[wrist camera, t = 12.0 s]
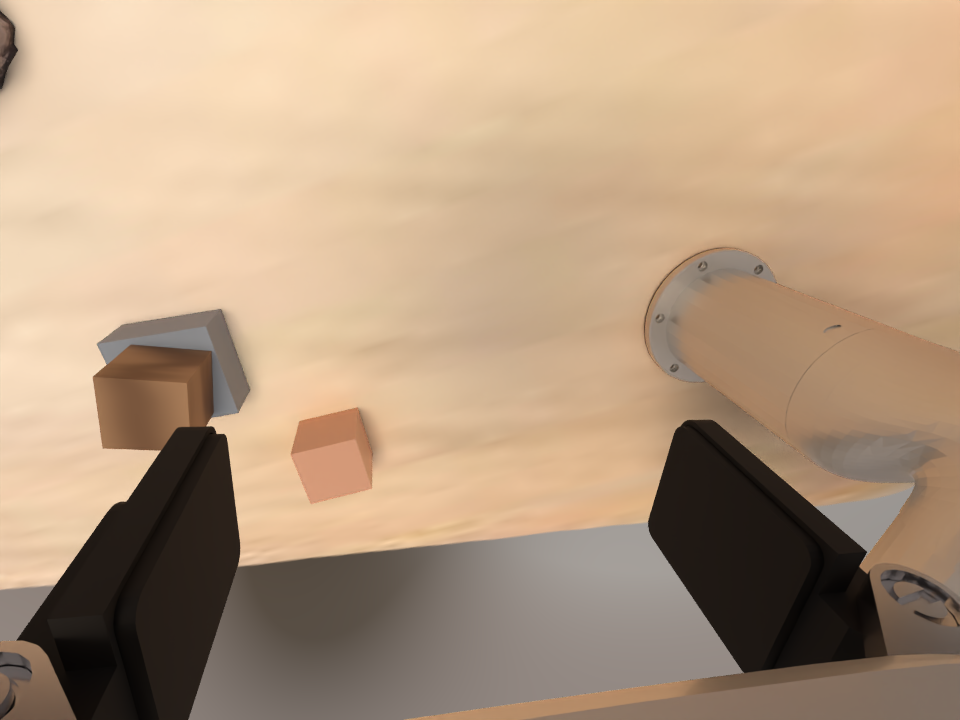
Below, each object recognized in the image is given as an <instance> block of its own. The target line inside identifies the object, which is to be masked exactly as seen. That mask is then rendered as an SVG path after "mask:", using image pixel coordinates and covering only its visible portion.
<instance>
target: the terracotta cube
mask: <svg viewBox="0 0 960 720" xmlns="http://www.w3.org/2000/svg"><path fill="white" fill-rule="evenodd" d="M291 457H292V459H293V462H294V464H295V467H296V469H297V471H298V474H299V476H300V479H301V481H302V484H303V486H304V489H305V491H306V493H307V496H308V498H309V501H310V503H311V504H313V503H317V502H321V501H325V500H329V499H333V498H337V497H341V496H345V495H349V494H353V493H356V492H360V491H364V490H368V489H372V451H371V448H370V445H369V442H368V438H367V435H366V432H365V429H364V426H363V423H362V420H361V416H360V413H359V410H358V408H354V409H349V410H345V411H341V412H337V413H332V414H328V415H324V416H320V417H315V418H311V419H307V420H303V421H299V425H298V429H297V433H296V436H295V440H294V444H293V448H292V451H291Z"/></svg>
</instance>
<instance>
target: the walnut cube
mask: <svg viewBox="0 0 960 720" xmlns="http://www.w3.org/2000/svg"><path fill="white" fill-rule="evenodd" d="M93 382H94V389H95V396H96V403H97V411H98V418H99V425H100V432H101V439H102V446H103V448H107V449H134V450H162V449H163V447H164V446H165V444H166V443H167V441H168V440H169V438H170V437H171V435H172V434H173V433H174V431H175V430H176V429H177V428H178V427H206V425H207V424H208V422H209V420H210V419H211V417H212V415H213V413H214V403H213V376H212V351H205V350H193V349H181V348H168V347H156V346H144V345H132V344H131V345H130V346H128V347H127V348H126V349H125V350H124V351H123V352H121V353H120V354H119V355H118V356H117V357H116V358H114V359H113V360H112V361H111V362H110V363H108V364H107V365H106V366H105V367H104V368H103V369H101V370H100V371H99V372H98V373H97V374H96V375H94V376H93Z"/></svg>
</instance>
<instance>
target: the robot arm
mask: <svg viewBox="0 0 960 720" xmlns="http://www.w3.org/2000/svg"><path fill="white" fill-rule="evenodd" d="M645 340H646V345H647V348H648V351H649V354H650V355H651V357H652V359H653V360H654V362H655V363H656V364H657V365H658V366H659V367H660V368H661V369H662V370H663V371H664V372H666V373H667V374H668V375H670V376H672V377H674V378H676V379H678V380H681V381H686V382H707V383H709V384H710V385H711V386H713V387H714V388H715V389H717V390H718V391H719V392H720V393H722V394H723V395H724V396H726V397H727V398H728V399H730V400H731V401H732V402H734V403H735V404H736V405H737V406H739V407H740V408H741V409H743V410H744V411H745V412H747V413H748V414H749V415H751V416H752V417H753V418H755V419H756V420H757V421H758V422H760V423H761V424H762V425H764V426H765V427H766V428H768V429H769V430H770V431H772V432H773V433H774V434H776V435H777V436H778V437H779V438H781V439H782V440H783V441H785V442H786V443H787V444H789V445H790V446H791V447H793V448H794V449H795V450H797V451H798V452H799V453H801V454H802V455H803V456H805V457H806V458H807V459H809V460H810V461H811V462H813V463H814V464H816V465H817V466H819V467H821V468H822V469H824V470H826V471H828V472H831V473H833V474H835V475H838V476H841V477H844V478H848V479H852V480H858V481H865V482H877V483H913V482H915V486H914V489H913V491H912V493H911V495H910V496H909V498H908V499H907V501H906V502H905V504H904V505H903V507H902V508H901V509H900V513H899V514H898V516H897V517H896V518H895V520H894V521H893V522H892V524H891V525H890V526H889V528H888V529H887V530H886V532H885V533H884V534H883V535H882V537H881V538H880V539H879V541H878V542H877V543H876V545H875V546H874V547H873V549H872V550H871V551H870V553H869V554H868V555H867V556H866V558H865V559H864V557H865V555H866V553H867V551H865V550H864V549H863V548H862V547H861V546H860V545H858V544H857V543H856V542H855V541H854V540H853V539H851V538H850V537H849V536H848V535H847V534H845V533H844V532H843V531H842V530H841V529H840V528H839V527H837V526H836V525H835V524H834V523H833V522H832V521H830V520H829V519H828V518H827V517H826V516H825V515H823V514H822V513H821V512H820V511H819V510H817V509H816V508H815V507H814V506H813V505H812V504H811V503H809V502H808V501H807V500H806V499H805V498H804V497H802V496H801V495H800V494H799V493H798V492H797V491H795V490H794V489H793V488H792V487H791V486H790V485H788V484H787V483H786V482H785V481H784V480H783V479H781V478H780V477H779V476H778V475H777V474H776V473H775V472H773V471H772V470H771V469H770V468H769V467H768V466H766V465H765V464H764V463H763V462H762V461H761V460H759V459H758V458H757V457H756V456H755V455H754V454H752V453H751V452H750V451H749V450H748V449H747V448H745V447H744V446H743V445H742V444H741V443H740V442H738V441H737V440H736V439H735V438H734V437H733V436H731V435H730V434H729V433H728V432H727V431H726V430H724V429H723V428H722V427H721V426H720V425H719V424H717V423H716V422H714V421H713V420H687V421H685V422H684V423H683V424H682V425H681V427H678V428H677V429H676V431H675V433H674V436H673V439H672V443H671V446H670V449H669V453H668V456H667V460H666V463H665V466H664V470H663V473H662V476H661V480H660V483H659V486H658V490H657V493H656V497H655V500H654V503H653V507H652V510H651V513H650V517H649V521H648V527H649V532H650V534H651V536H652V538H653V540H654V541H655V543H656V544H657V546H658V547H659V549H660V550H661V551H662V553H663V555H664V556H665V558H666V559H667V560H668V562H669V563H670V565H671V566H672V568H673V569H674V571H675V572H676V574H677V575H678V576H679V578H680V579H681V581H682V582H683V584H684V585H685V587H686V589H687V590H688V591H689V593H690V594H691V596H692V597H693V599H694V600H695V602H696V603H697V605H698V606H699V608H700V609H701V611H702V612H703V614H704V615H705V617H706V618H707V620H708V621H709V622H710V624H711V625H712V627H713V628H714V630H715V631H716V633H717V634H718V636H719V637H720V639H721V640H722V642H723V643H724V645H725V646H726V648H727V649H728V651H729V652H730V654H731V655H732V656H733V658H734V659H735V661H736V662H737V664H738V665H739V667H740V668H741V670H742V671H743V672H744V673H741V674H733V675H726V676H718V677H710V678H702V679H695V680H687V681H680V682H672V683H665V684H657V685H650V686H644V687H636V688H628V689H621V690H613V691H606V692H598V693H591V694H584V695H576V696H569V697H562V698H555V699H547V700H540V701H533V702H525V703H518V704H511V705H504V706H497V707H490V708H483V709H476V710H469V711H462V712H455V713H448V714H440V715H433V716H427V717H419V718H413V719H405V720H960V352H958V351H955V350H952V349H949V348H946V347H943V346H940V345H937V344H934V343H932V342H929V341H926V340H924V339H921V338H918V337H916V336H913V335H910V334H908V333H905V332H902V331H900V330H897V329H894V328H892V327H889V326H887V325H884V324H881V323H879V322H876V321H873V320H871V319H868V318H866V317H863V316H860V315H858V314H855V313H852V312H850V311H847V310H845V309H842V308H839V307H837V306H834V305H831V304H829V303H826V302H824V301H821V300H818V299H816V298H813V297H810V296H808V295H805V294H803V293H800V292H797V291H795V290H792V289H789V288H787V287H784V286H781V285H779V284H777V282H776V279H775V277H774V274H773V272H772V271H771V269H770V268H769V267H768V265H767V264H766V263H765V262H764V261H762V260H761V259H760V258H759V257H757V256H755V255H753V254H751V253H748V252H745V251H742V250H738V249H732V248H720V249H713V250H709V251H706V252H703V253H700V254H697V255H696V256H694V257H692V258H690V259H688V260H686V261H685V262H684V263H682V264H681V265H680V266H679V267H677V268H676V269H675V270H674V271H673V272H672V273H671V274H670V275H669V276H668V277H667V278H666V279H665V280H664V281H663V283H662V284H661V286H660V287H659V289H658V290H657V292H656V293H655V295H654V297H653V299H652V302H651V304H650V306H649V309H648V313H647V316H646V323H645ZM239 557H240V539H239V531H238V523H237V515H236V507H235V499H234V491H233V483H232V475H231V467H230V459H229V450H228V442H227V438H226V435H225V434H216V431H215V429H214V427H212V426H210V427H178V428H177V429H176V430H175V431H174V433H173V434H172V435H171V437H170V438H169V440H168V441H167V443H166V444H165V446H164V447H163V449H162V450H161V452H160V453H159V455H158V456H157V458H156V459H155V461H154V462H153V464H152V465H151V466H150V468H149V469H148V471H147V472H146V474H145V475H144V477H143V478H142V480H141V481H140V483H139V484H138V486H137V487H136V489H135V490H134V492H133V493H132V495H131V496H130V497H129V499H128V500H127V502H119V503H117V504H114V505H113V506H112V507H111V509H110V510H109V511H108V512H107V513H106V515H105V516H104V518H103V519H102V520H101V522H100V523H99V525H98V526H97V527H96V529H95V530H94V532H93V533H92V535H91V536H90V537H89V539H88V540H87V542H86V543H85V544H84V546H83V547H82V549H81V550H80V551H79V553H78V554H77V556H76V557H75V559H74V560H73V561H72V563H71V564H70V566H69V567H68V568H67V570H66V571H65V573H64V574H63V575H62V577H61V578H60V580H59V581H58V583H57V584H56V585H55V587H54V588H53V590H52V591H51V592H50V594H49V595H48V597H47V598H46V600H45V601H44V603H43V604H42V605H41V606H40V608H39V609H38V611H37V612H36V614H35V615H34V616H33V618H32V619H31V621H30V622H29V623H28V625H27V626H26V628H25V629H24V630H23V632H22V633H21V635H20V636H19V638H18V639H17V640H16V641H1V642H0V720H188V719H189V715H190V713H191V710H192V706H193V703H194V700H195V697H196V694H197V691H198V688H199V685H200V681H201V678H202V675H203V672H204V669H205V666H206V663H207V660H208V656H209V653H210V650H211V647H212V644H213V641H214V638H215V635H216V632H217V629H218V625H219V622H220V619H221V616H222V613H223V610H224V607H225V603H226V601H227V597H228V594H229V591H230V588H231V585H232V582H233V578H234V576H235V572H236V569H237V566H238V563H239ZM863 559H864V561H863V562H862V560H863ZM861 562H862V563H861Z"/></svg>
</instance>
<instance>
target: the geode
mask: <svg viewBox="0 0 960 720" xmlns="http://www.w3.org/2000/svg"><path fill="white" fill-rule="evenodd" d="M14 32H15V28H14V26H13V25H12V24H11V22H10V21H9V20H8V18H7V17H6V16H5V15H4V14H3V13H2V12H1V11H0V89H2V86H3V83H4V79H5V76H6V72H7V69H8V66H9V65H10V63H11V61H12V59H13V58H14V56H15V54H16V53H17V51H18V49H17V48H16V46H15V45H14Z"/></svg>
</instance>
